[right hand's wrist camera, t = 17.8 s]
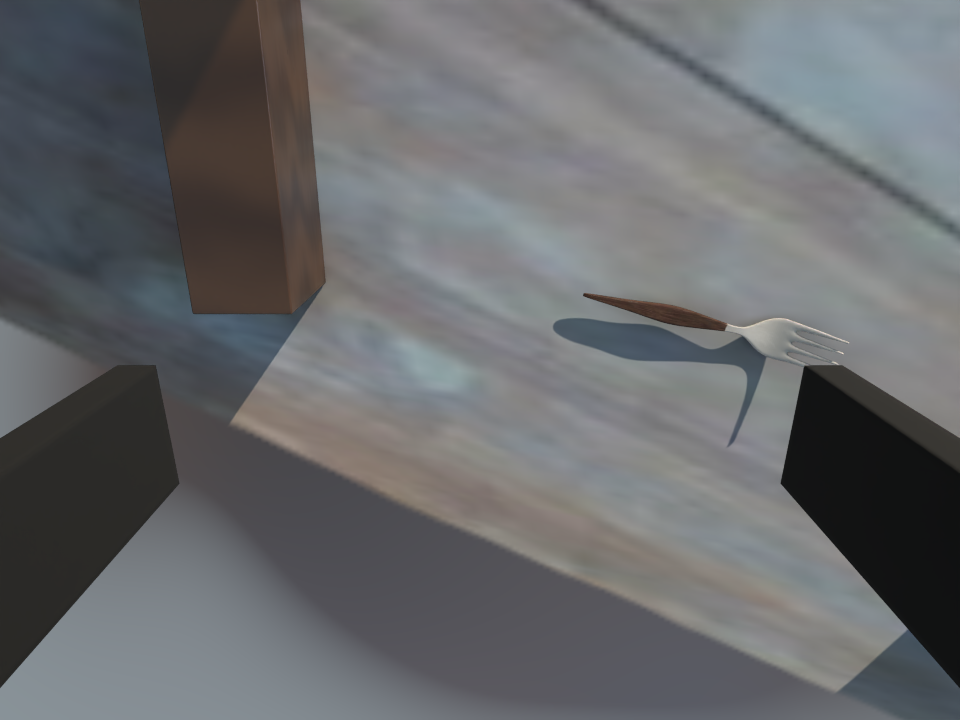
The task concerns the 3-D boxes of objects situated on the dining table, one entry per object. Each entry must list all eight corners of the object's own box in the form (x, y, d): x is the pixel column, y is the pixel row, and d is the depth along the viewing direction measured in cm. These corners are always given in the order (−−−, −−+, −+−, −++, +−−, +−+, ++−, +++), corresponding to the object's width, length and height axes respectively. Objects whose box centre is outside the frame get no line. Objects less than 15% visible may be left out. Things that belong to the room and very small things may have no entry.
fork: (588, 271, 36) (594, 278, 34) (832, 329, 37) (851, 339, 35) (576, 312, 37) (581, 321, 35) (815, 367, 38) (832, 379, 36)
